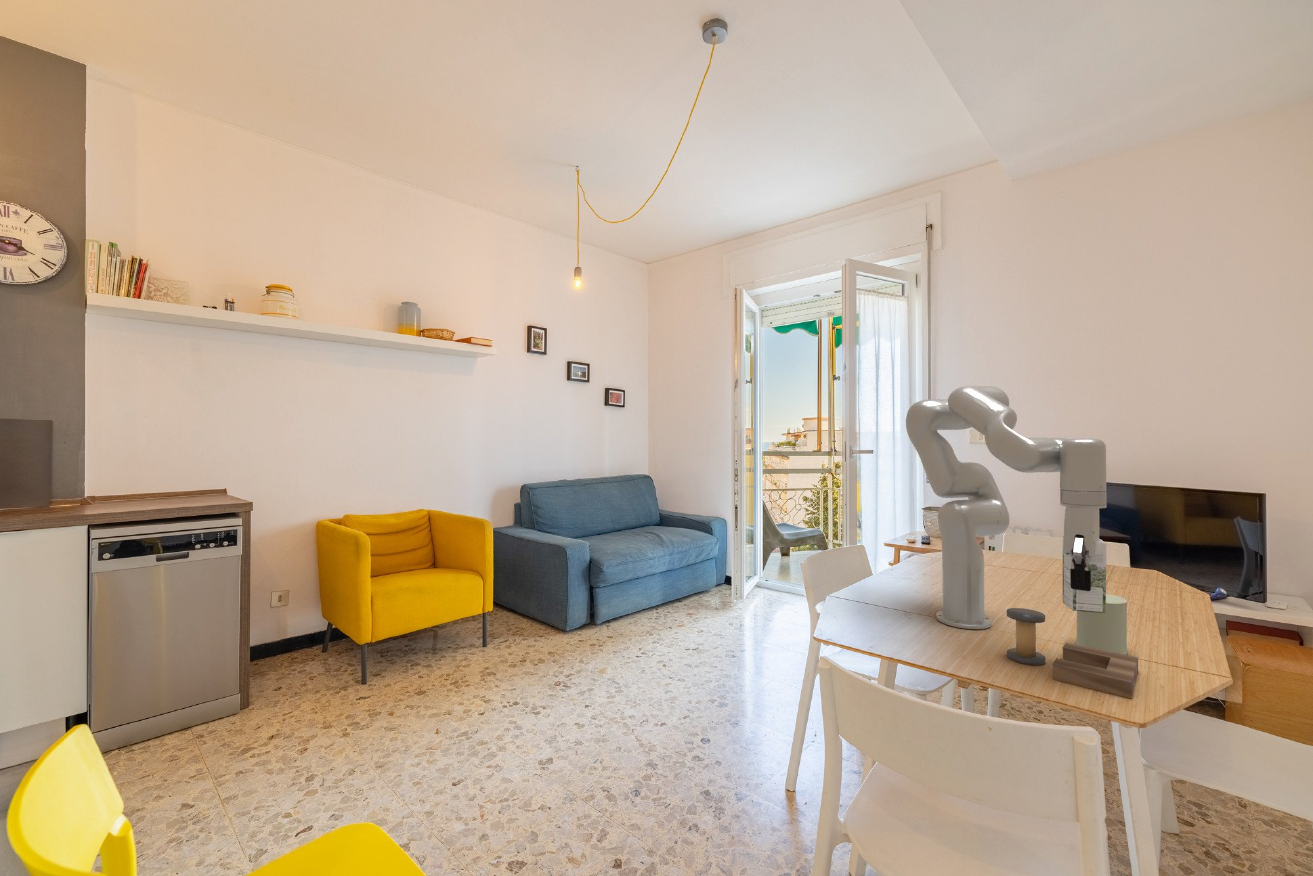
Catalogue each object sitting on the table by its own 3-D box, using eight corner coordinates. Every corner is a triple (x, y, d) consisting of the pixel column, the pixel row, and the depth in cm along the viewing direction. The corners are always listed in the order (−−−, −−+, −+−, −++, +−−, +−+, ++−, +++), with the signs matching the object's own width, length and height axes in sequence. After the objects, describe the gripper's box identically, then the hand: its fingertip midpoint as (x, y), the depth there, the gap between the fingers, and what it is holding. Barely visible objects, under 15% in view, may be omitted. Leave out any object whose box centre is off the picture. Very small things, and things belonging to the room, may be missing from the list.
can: (1066, 640, 131) (1066, 589, 131) (1106, 640, 131) (1106, 589, 131) (1095, 655, 122) (1095, 601, 122) (1139, 655, 122) (1138, 601, 122)
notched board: (1066, 655, 122) (1066, 642, 122) (1138, 671, 114) (1138, 657, 114) (1052, 679, 111) (1052, 664, 111) (1131, 698, 102) (1131, 682, 102)
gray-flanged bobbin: (1010, 650, 125) (1010, 605, 125) (1048, 658, 121) (1048, 612, 120) (1003, 659, 120) (1003, 613, 120) (1042, 668, 115) (1041, 620, 115)
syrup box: (1094, 606, 115) (1094, 536, 115) (1107, 614, 110) (1106, 541, 110) (1062, 603, 117) (1061, 534, 117) (1072, 611, 111) (1072, 539, 111)
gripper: (1067, 494, 122) (1068, 574, 122) (1052, 501, 110) (1053, 591, 110) (1111, 496, 117) (1111, 580, 117) (1101, 504, 104) (1101, 598, 104)
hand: (1083, 585), depth 113 cm, fingers closed on syrup box, 7 cm apart
